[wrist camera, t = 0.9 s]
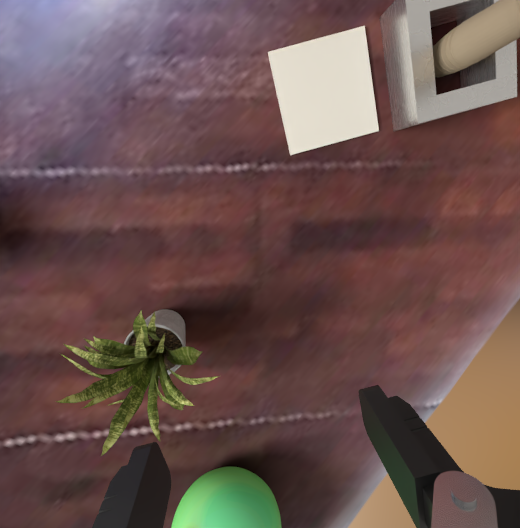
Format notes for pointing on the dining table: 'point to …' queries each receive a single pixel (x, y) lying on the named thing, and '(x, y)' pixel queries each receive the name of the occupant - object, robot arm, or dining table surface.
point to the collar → (422, 64)
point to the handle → (477, 37)
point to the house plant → (139, 369)
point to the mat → (325, 90)
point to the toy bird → (228, 502)
